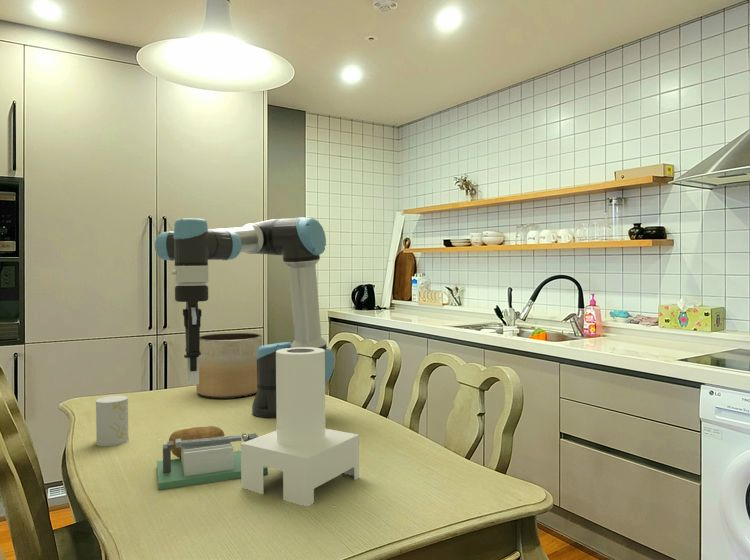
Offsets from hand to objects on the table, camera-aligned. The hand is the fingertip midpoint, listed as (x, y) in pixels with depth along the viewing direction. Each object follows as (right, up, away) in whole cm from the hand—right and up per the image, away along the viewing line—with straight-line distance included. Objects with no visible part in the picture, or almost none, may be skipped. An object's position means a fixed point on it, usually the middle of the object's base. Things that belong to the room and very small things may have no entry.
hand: (193, 384), depth 132 cm
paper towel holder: (+26, -21, -6) cm, 35 cm away
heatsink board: (+4, -21, +2) cm, 22 cm away
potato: (-2, -21, +10) cm, 24 cm away
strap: (+4, -15, +2) cm, 15 cm away
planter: (-14, -20, +87) cm, 90 cm away
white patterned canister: (-31, -21, +25) cm, 45 cm away
